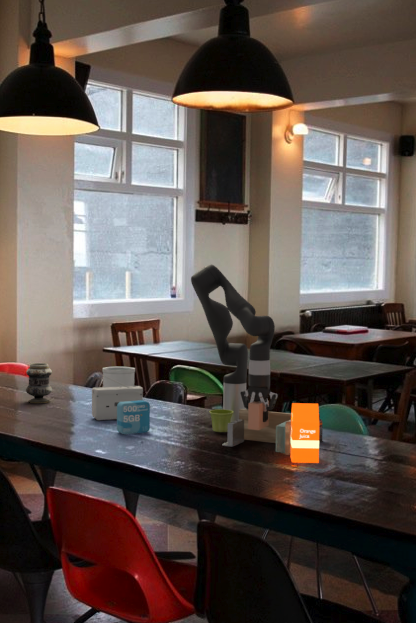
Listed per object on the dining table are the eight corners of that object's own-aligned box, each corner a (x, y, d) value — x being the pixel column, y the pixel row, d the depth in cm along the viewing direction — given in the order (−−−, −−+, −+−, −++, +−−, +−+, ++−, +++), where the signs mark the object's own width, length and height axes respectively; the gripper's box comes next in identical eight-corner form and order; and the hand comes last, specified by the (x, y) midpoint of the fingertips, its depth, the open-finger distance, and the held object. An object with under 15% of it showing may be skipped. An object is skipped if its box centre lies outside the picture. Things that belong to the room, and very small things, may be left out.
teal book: (286, 446, 298) (286, 421, 297) (295, 447, 296) (295, 422, 295) (275, 451, 289) (275, 425, 288) (285, 453, 287) (285, 426, 287)
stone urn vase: (49, 404, 389) (49, 365, 388) (23, 403, 389) (23, 365, 388) (54, 399, 401) (54, 362, 400) (29, 399, 401) (28, 362, 400)
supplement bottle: (323, 443, 309) (324, 412, 308) (320, 446, 303) (321, 415, 303) (307, 442, 311) (308, 411, 310) (304, 445, 305) (304, 414, 305)
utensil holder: (117, 402, 396) (117, 365, 395) (141, 405, 387) (141, 367, 386) (95, 406, 384) (95, 368, 383) (120, 410, 375) (120, 371, 374)
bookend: (233, 440, 306) (234, 418, 306) (244, 441, 305) (244, 419, 304) (222, 445, 298) (222, 423, 297) (232, 446, 296) (232, 424, 295)
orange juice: (290, 460, 281) (291, 401, 280) (316, 461, 281) (317, 401, 280) (291, 466, 273) (292, 405, 272) (319, 466, 273) (320, 405, 272)
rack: (240, 441, 310) (240, 408, 310) (304, 448, 299) (304, 414, 299) (221, 450, 296) (221, 415, 295) (288, 457, 285) (288, 422, 284)
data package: (121, 434, 321) (121, 403, 320) (116, 432, 325) (116, 401, 324) (149, 432, 327) (150, 401, 326) (145, 430, 331) (145, 399, 330)
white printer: (139, 415, 362) (139, 369, 361) (144, 419, 354) (144, 371, 353) (91, 418, 356) (91, 371, 354) (95, 421, 348) (95, 373, 347)
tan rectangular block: (248, 429, 293) (248, 403, 293) (258, 424, 301) (258, 399, 301) (258, 430, 291) (259, 404, 291) (268, 425, 299) (269, 400, 299)
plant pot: (238, 433, 325) (238, 411, 325) (222, 437, 318) (222, 414, 318) (220, 430, 331) (220, 408, 331) (204, 433, 325) (204, 411, 324)
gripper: (236, 372, 295) (235, 421, 296) (274, 375, 289) (273, 424, 290) (245, 370, 302) (244, 417, 303) (282, 372, 295) (281, 421, 296)
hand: (258, 420), depth 296 cm, fingers closed on tan rectangular block, 4 cm apart
